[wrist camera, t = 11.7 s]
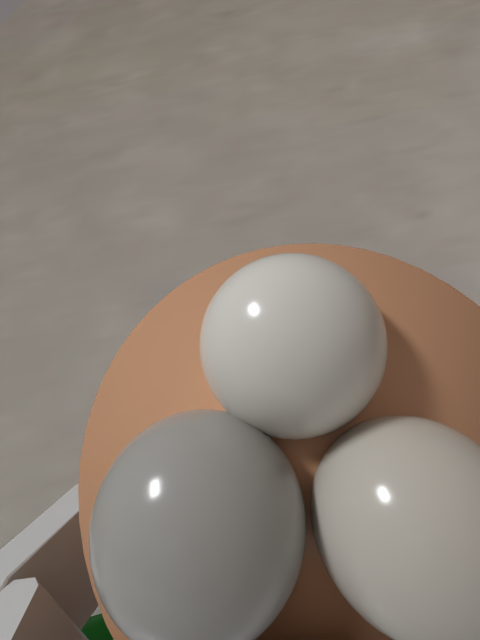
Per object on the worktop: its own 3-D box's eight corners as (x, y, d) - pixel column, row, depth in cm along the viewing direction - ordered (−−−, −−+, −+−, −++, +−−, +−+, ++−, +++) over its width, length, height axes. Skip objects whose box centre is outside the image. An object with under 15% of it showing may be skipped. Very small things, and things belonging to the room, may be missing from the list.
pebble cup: (329, 570, 11) (521, 1696, 1) (200, 457, 13) (-136, 528, 3) (416, 425, 12) (936, 376, 2) (283, 339, 14) (228, 103, 4)
